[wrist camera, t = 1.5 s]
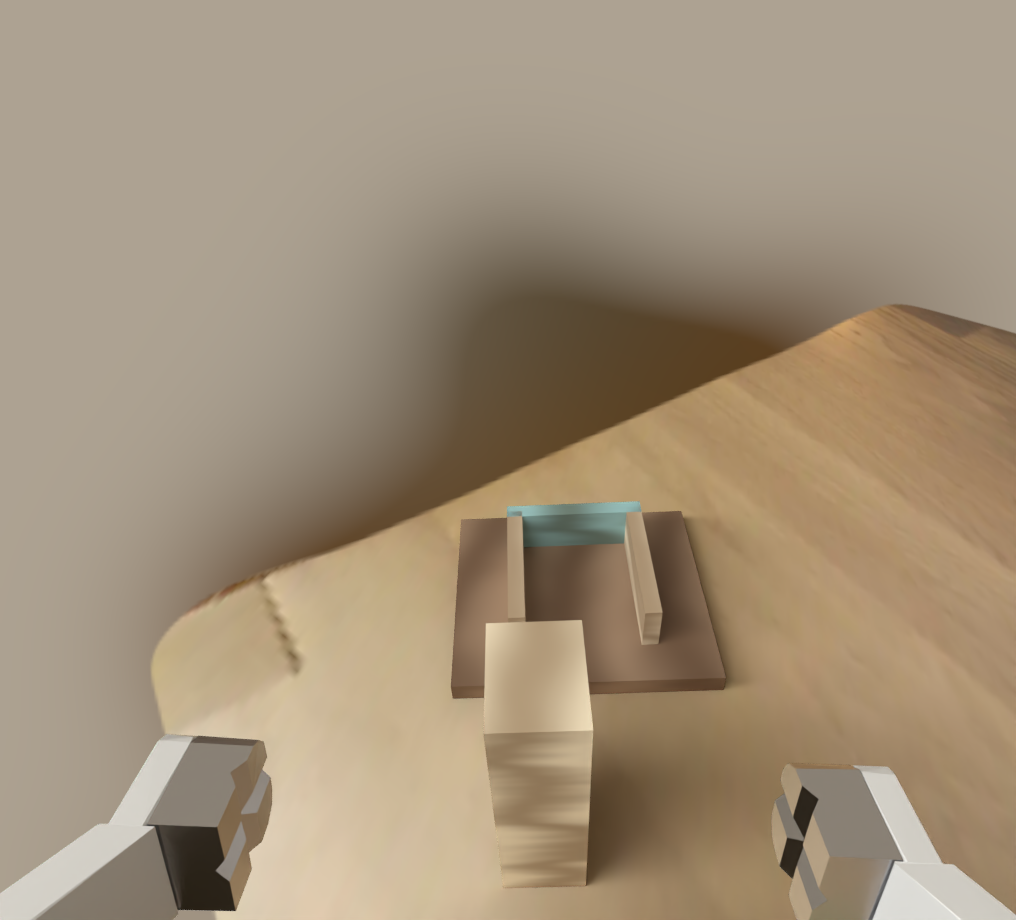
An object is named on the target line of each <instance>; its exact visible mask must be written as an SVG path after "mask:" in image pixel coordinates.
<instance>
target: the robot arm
mask: <svg viewBox="0 0 1016 920" xmlns="http://www.w3.org/2000/svg"><path fill="white" fill-rule="evenodd" d="M266 758H267V754H266V750H265V745H264V742H263V741H260V740H250V739H236V738H222V737H208V736H188V735H173V734H166V735H165V736H164V737H163V738H161V739H160V740H159V741H158V742H157V743H156V745H155V747H154V748H153V750H152V752H151V753H150V755H149V757H148V758H147V760H146V762H145V764H144V765H143V767H142V768H141V770H140V772H139V773H138V775H137V777H136V778H135V780H134V782H133V784H132V785H131V787H130V789H129V790H128V792H127V794H126V795H125V797H124V799H123V801H122V802H121V804H120V805H119V807H118V809H117V810H116V812H115V814H114V816H113V817H112V819H111V821H110V822H109V824H98V825H96V826H95V827H93V828H92V829H91V830H89V831H88V832H86V833H85V834H84V835H82V836H81V837H79V838H78V839H76V840H75V841H74V842H72V843H71V844H69V845H68V846H67V847H65V848H64V849H62V850H61V851H59V852H58V853H57V854H55V855H54V856H52V857H51V858H50V859H48V860H47V861H45V862H44V863H42V864H41V865H40V866H38V867H37V868H35V869H34V870H33V871H31V872H30V873H28V874H27V875H25V876H24V877H23V878H21V879H20V880H18V881H17V882H16V883H14V884H13V885H11V886H10V887H8V888H7V889H6V890H4V891H3V892H1V893H0V920H173V919H174V918H175V917H176V916H177V915H178V910H207V911H236V909H237V906H238V904H239V901H240V898H241V896H242V893H243V891H244V888H245V885H246V883H247V880H248V877H249V875H250V872H251V869H252V867H251V862H250V856H249V852H250V851H251V850H252V849H254V848H255V847H256V846H257V845H258V844H259V843H261V842H262V840H263V837H264V834H265V831H266V828H267V825H268V821H269V816H270V811H271V806H272V785H271V778H270V777H269V776H268V775H267V774H266V773H265V772H264V771H263V770H262V768H263V766H264V763H265V761H266ZM780 781H781V784H782V787H783V790H784V794H783V795H781V796H780V797H779V798H778V799H776V800H775V802H774V807H773V812H772V839H773V844H774V849H775V853H776V856H777V860H778V863H779V866H780V867H781V868H782V869H783V870H784V871H785V872H786V873H787V874H788V875H789V876H790V877H791V878H792V879H793V880H792V884H791V888H790V891H789V898H790V901H791V904H792V907H793V910H794V913H795V916H796V920H1016V915H1015V914H1014V913H1013V912H1012V911H1011V910H1009V909H1008V908H1007V907H1006V906H1004V905H1003V904H1002V903H1001V902H999V901H998V900H997V899H996V898H994V897H993V896H992V895H991V894H989V893H988V892H987V891H986V890H985V889H983V888H982V887H981V886H980V885H978V884H977V883H976V882H975V881H973V880H972V879H971V878H970V877H968V876H967V875H966V874H965V873H963V872H962V871H961V870H960V869H958V868H957V867H956V866H955V865H954V864H943V862H942V861H941V859H940V857H939V855H938V853H937V851H936V849H935V848H934V846H933V844H932V842H931V840H930V838H929V836H928V835H927V833H926V831H925V829H924V827H923V825H922V824H921V822H920V820H919V818H918V816H917V814H916V812H915V811H914V809H913V807H912V805H911V803H910V801H909V799H908V798H907V796H906V794H905V792H904V790H903V788H902V787H901V785H900V783H899V781H898V779H897V777H896V775H895V774H894V772H893V771H892V770H891V769H889V768H888V767H880V766H851V765H836V764H805V763H788V764H787V765H786V766H785V767H784V768H783V772H782V776H781V779H780Z"/></svg>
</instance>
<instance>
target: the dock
mask: <svg viewBox="0 0 1016 920" xmlns="http://www.w3.org/2000/svg"><path fill="white" fill-rule="evenodd" d="M568 620H582V626H583V636H584V646H585V656H586V665H587V675H588V685H589V694H603V693H634V692H665V691H696V690H723V688H724V684H725V680H726V676H725V672H724V668H723V665H722V661H721V657H720V654H719V650H718V646H717V642H716V639H715V635H714V631H713V628H712V624H711V620H710V616H709V613H708V609H707V605H706V602H705V598H704V594H703V590H702V587H701V583H700V579H699V576H698V572H697V568H696V564H695V561H694V557H693V553H692V550H691V546H690V542H689V539H688V535H687V531H686V527H685V524H684V520H683V516H682V513H681V511H672V512H647V513H642V512H641V507H640V502H639V501H638V502H612V503H586V504H561V505H535V506H510V507H507V518H491V519H465V520H461V532H460V548H459V564H458V581H457V597H456V613H455V629H454V646H453V662H452V678H451V690H452V696H453V698H480V697H484V688H485V642H486V623H511V622H539V621H568Z"/></svg>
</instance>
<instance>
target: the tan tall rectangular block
mask: <svg viewBox="0 0 1016 920" xmlns="http://www.w3.org/2000/svg"><path fill="white" fill-rule="evenodd" d="M484 741H485V749H486V757H487V765H488V772H489V780H490V788H491V796H492V804H493V811H494V819H495V827H496V835H497V842H498V850H499V858H500V866H501V874H502V881H503V888H523V887H562V886H586V872H587V851H588V830H589V809H590V787H591V766H592V745H593V724H592V714H591V704H590V694H589V685H588V675H587V665H586V656H585V646H584V636H583V626H582V620H568V621H539V622H511V623H486V642H485V688H484Z"/></svg>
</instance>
